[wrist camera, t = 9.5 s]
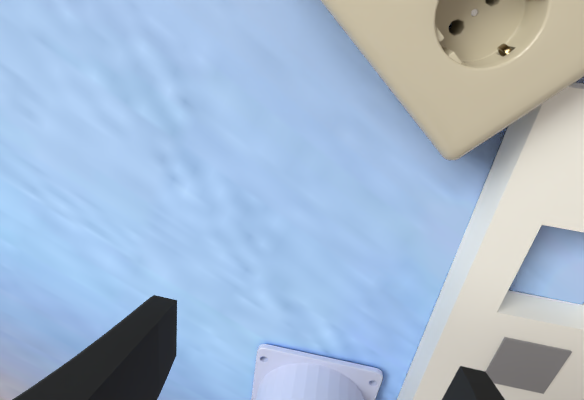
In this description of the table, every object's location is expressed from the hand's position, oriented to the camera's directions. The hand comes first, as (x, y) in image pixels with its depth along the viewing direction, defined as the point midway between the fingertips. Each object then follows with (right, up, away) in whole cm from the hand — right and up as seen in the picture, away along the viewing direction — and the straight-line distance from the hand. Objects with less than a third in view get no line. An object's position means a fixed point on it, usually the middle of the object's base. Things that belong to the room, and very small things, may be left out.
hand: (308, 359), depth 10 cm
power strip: (+12, -1, +10) cm, 16 cm away
